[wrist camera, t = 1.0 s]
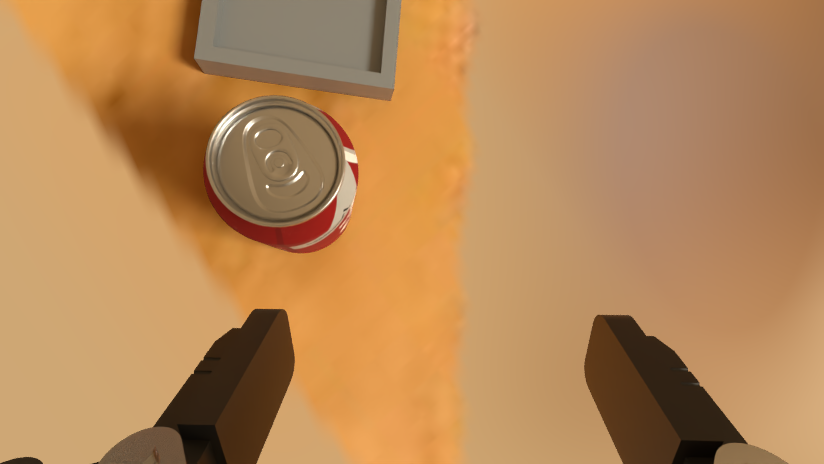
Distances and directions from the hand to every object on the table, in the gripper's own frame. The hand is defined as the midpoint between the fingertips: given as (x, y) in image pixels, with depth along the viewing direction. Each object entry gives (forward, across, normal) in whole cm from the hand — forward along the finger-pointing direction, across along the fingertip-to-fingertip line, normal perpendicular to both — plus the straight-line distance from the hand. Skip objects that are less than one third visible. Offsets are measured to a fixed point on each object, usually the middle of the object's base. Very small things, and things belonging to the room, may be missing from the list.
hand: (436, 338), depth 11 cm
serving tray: (+25, +9, -10) cm, 28 cm away
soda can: (+18, +9, +3) cm, 20 cm away
